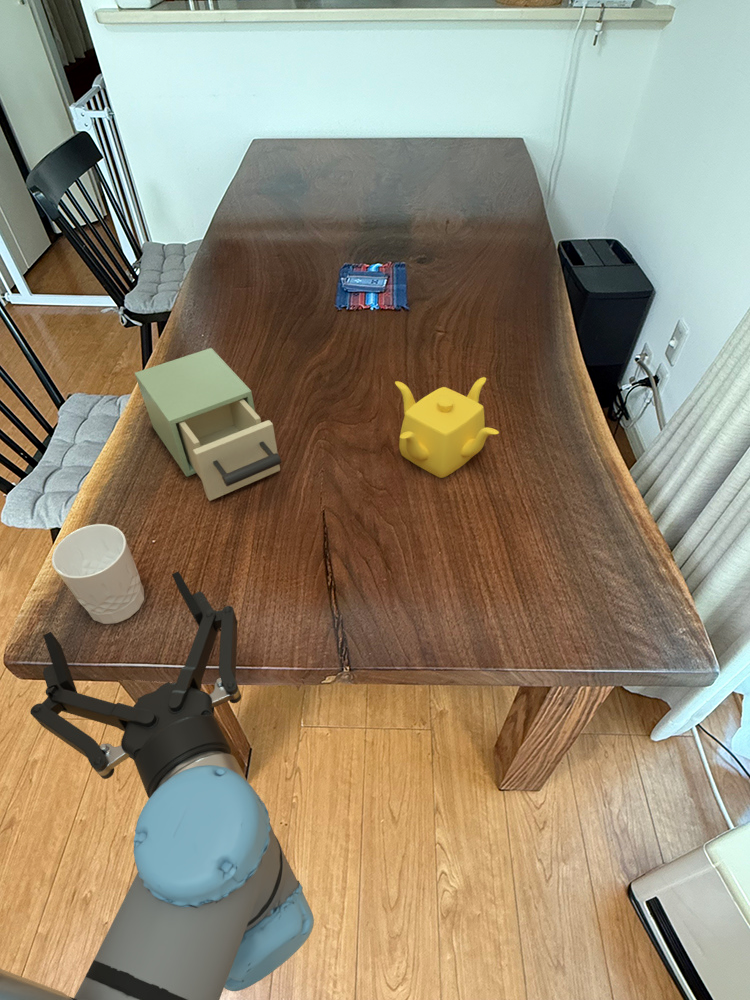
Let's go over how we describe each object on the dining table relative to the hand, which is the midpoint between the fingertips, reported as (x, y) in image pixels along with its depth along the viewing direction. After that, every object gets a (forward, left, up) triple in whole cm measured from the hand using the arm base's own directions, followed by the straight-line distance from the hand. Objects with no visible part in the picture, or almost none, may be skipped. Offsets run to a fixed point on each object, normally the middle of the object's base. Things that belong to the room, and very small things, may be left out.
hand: (117, 608), depth 64 cm
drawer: (+13, +27, -7) cm, 31 cm away
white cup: (-3, +7, -8) cm, 11 cm away
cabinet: (+10, +37, -8) cm, 39 cm away
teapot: (+45, +24, -8) cm, 52 cm away
